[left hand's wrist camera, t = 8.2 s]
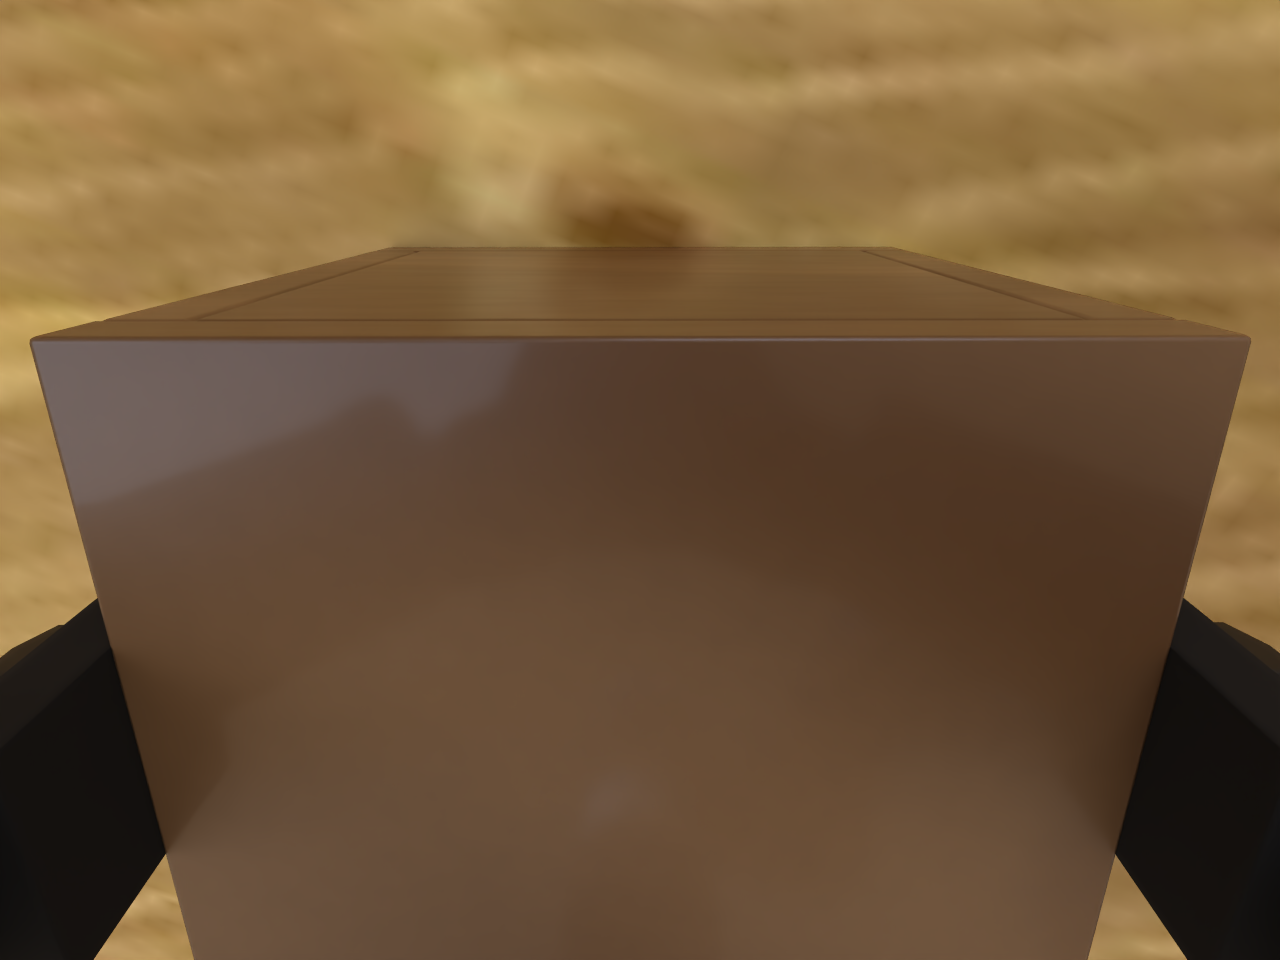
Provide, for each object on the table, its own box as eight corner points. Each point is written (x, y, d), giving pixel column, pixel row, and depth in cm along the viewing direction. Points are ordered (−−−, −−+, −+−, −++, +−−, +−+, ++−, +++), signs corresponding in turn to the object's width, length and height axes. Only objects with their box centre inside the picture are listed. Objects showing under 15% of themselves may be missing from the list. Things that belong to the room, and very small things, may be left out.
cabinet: (819, 957, 24) (946, 1500, 14) (462, 958, 24) (336, 1500, 14) (894, 247, 17) (1255, 335, 7) (385, 247, 17) (24, 338, 7)
